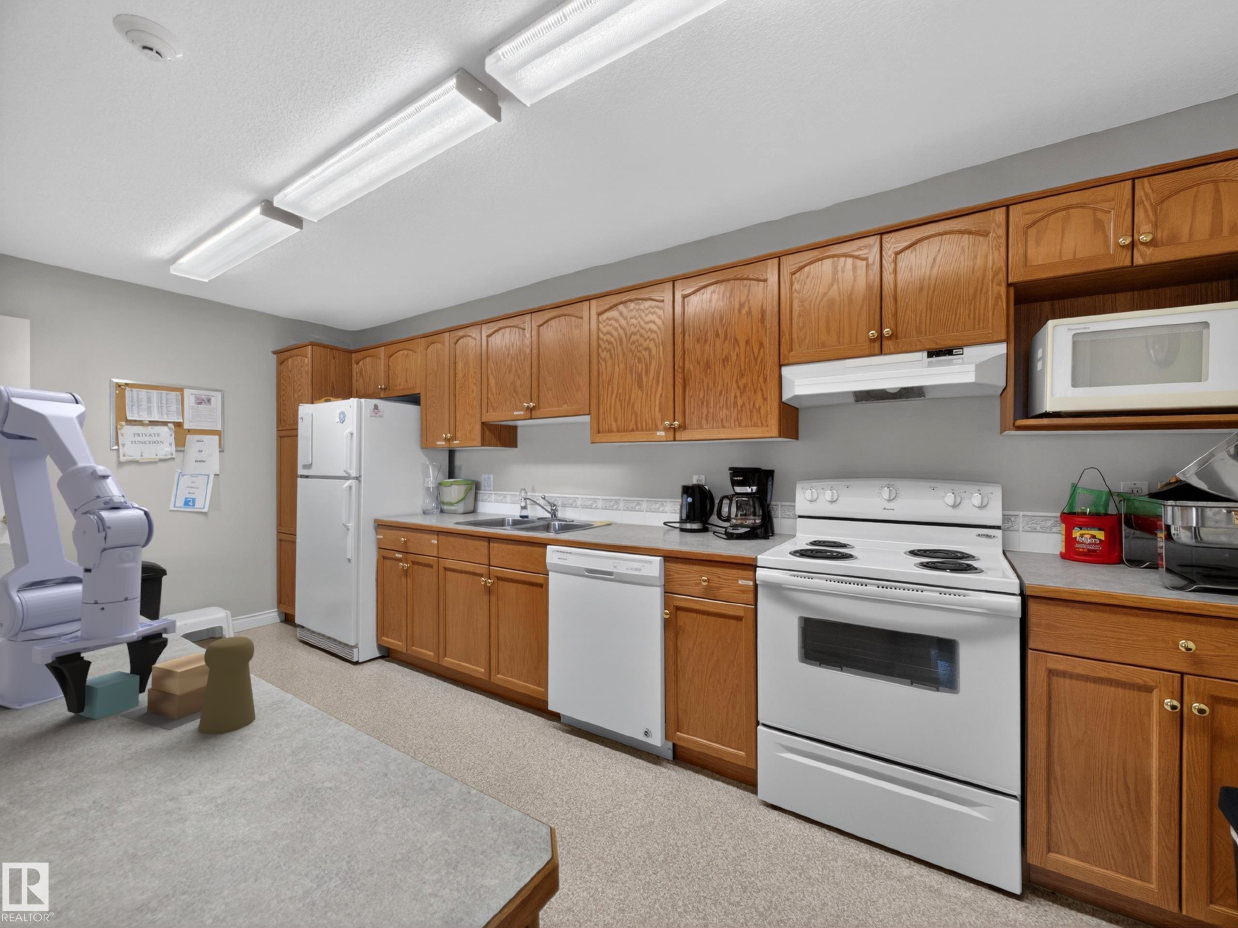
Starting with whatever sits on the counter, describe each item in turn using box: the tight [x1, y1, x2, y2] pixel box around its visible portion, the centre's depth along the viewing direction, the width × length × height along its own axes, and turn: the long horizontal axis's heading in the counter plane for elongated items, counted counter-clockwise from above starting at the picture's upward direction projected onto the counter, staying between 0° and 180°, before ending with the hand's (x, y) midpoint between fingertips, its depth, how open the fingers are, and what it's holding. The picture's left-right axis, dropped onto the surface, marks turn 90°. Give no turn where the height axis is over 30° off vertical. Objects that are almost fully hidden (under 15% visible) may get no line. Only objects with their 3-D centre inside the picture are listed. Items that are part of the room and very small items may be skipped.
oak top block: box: [150, 652, 209, 695], centre depth 73 cm, size 6×6×3 cm
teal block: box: [78, 670, 140, 720], centre depth 72 cm, size 4×4×4 cm
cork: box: [197, 636, 256, 735], centre depth 69 cm, size 6×6×11 cm
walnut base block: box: [146, 686, 206, 720], centre depth 73 cm, size 6×6×3 cm
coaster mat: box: [119, 705, 202, 731], centre depth 73 cm, size 10×10×1 cm
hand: (108, 701), depth 72 cm, fingers open, 6 cm apart
